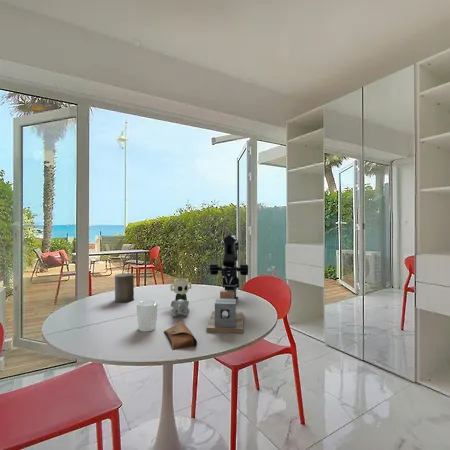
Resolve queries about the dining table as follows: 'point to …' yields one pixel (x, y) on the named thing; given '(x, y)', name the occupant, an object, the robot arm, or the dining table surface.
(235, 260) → the robot arm
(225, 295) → the shaft
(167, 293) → the dining table surface
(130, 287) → the pillar candle
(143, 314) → the white cup
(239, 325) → the bearing base
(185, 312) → the elephant statuette
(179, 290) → the character mug
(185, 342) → the sunglasses case
